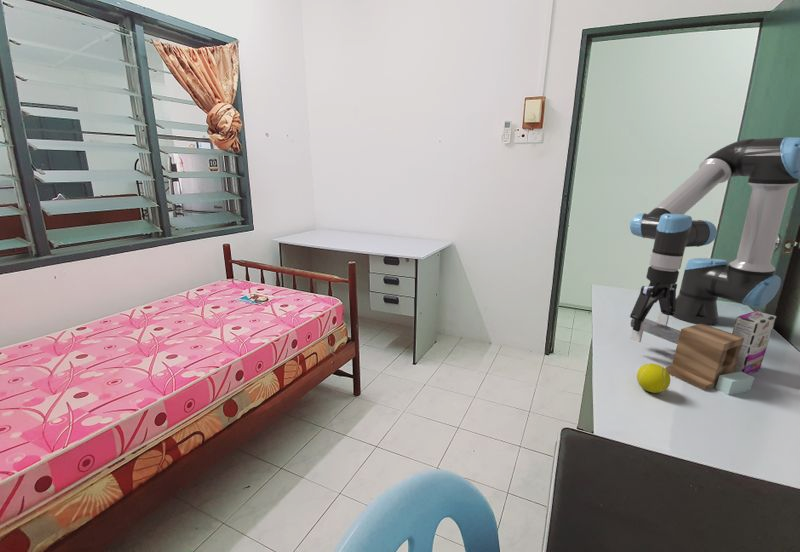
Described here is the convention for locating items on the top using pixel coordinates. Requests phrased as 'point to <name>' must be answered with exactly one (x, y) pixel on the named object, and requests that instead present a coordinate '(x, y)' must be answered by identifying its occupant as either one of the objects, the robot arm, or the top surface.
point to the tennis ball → (653, 378)
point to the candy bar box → (753, 339)
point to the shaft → (660, 330)
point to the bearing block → (705, 355)
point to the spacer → (734, 383)
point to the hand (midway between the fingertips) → (647, 337)
